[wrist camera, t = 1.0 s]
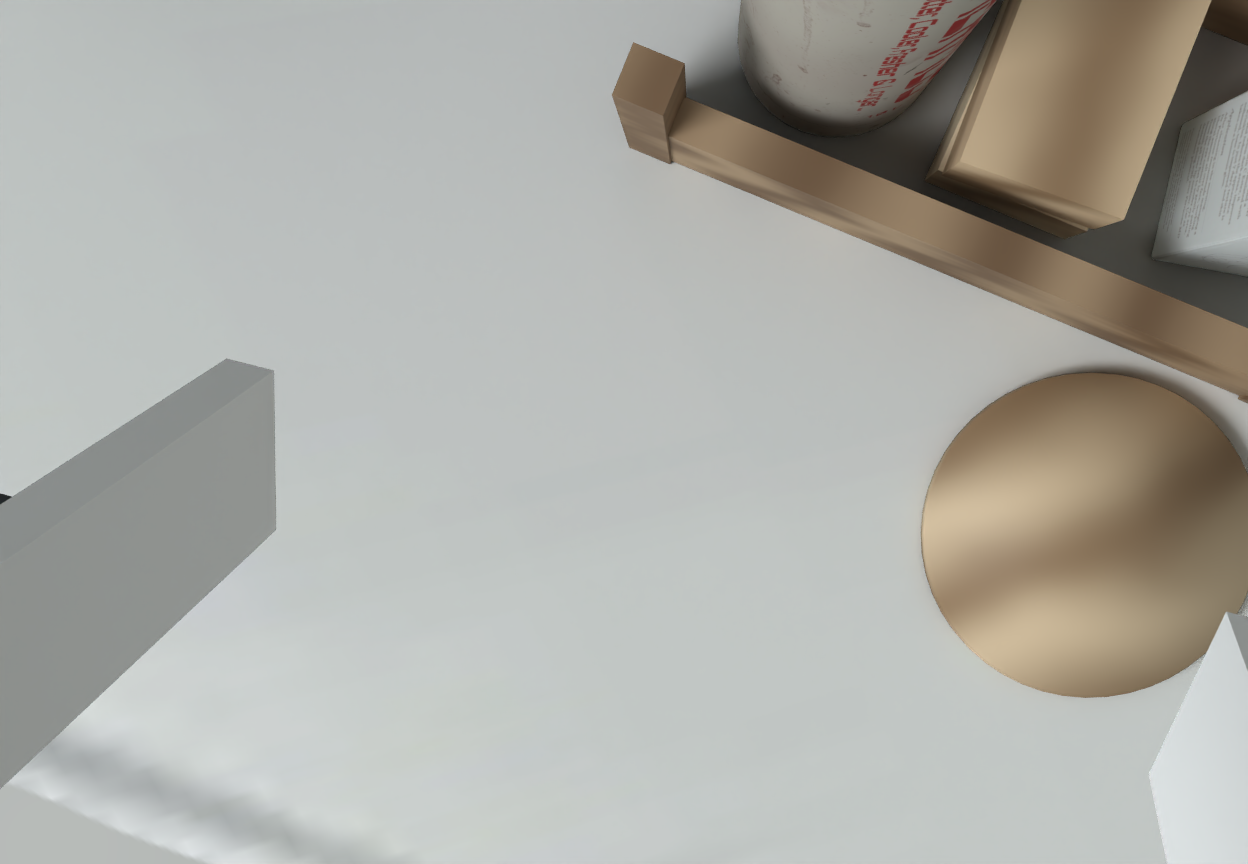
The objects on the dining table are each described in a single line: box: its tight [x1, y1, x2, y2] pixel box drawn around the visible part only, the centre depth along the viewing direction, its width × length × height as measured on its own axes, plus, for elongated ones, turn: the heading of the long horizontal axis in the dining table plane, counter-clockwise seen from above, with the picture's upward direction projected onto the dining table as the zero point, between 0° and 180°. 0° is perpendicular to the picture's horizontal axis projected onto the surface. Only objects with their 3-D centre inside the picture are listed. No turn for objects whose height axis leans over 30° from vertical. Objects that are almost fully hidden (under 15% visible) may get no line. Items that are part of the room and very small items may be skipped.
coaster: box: [921, 373, 1248, 698], centre depth 45 cm, size 13×13×1 cm
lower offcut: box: [924, 0, 1088, 239], centre depth 43 cm, size 6×8×3 cm
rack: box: [612, 0, 1248, 403], centre depth 40 cm, size 28×14×9 cm, turn 67°
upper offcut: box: [942, 0, 1211, 230], centre depth 40 cm, size 6×8×3 cm
